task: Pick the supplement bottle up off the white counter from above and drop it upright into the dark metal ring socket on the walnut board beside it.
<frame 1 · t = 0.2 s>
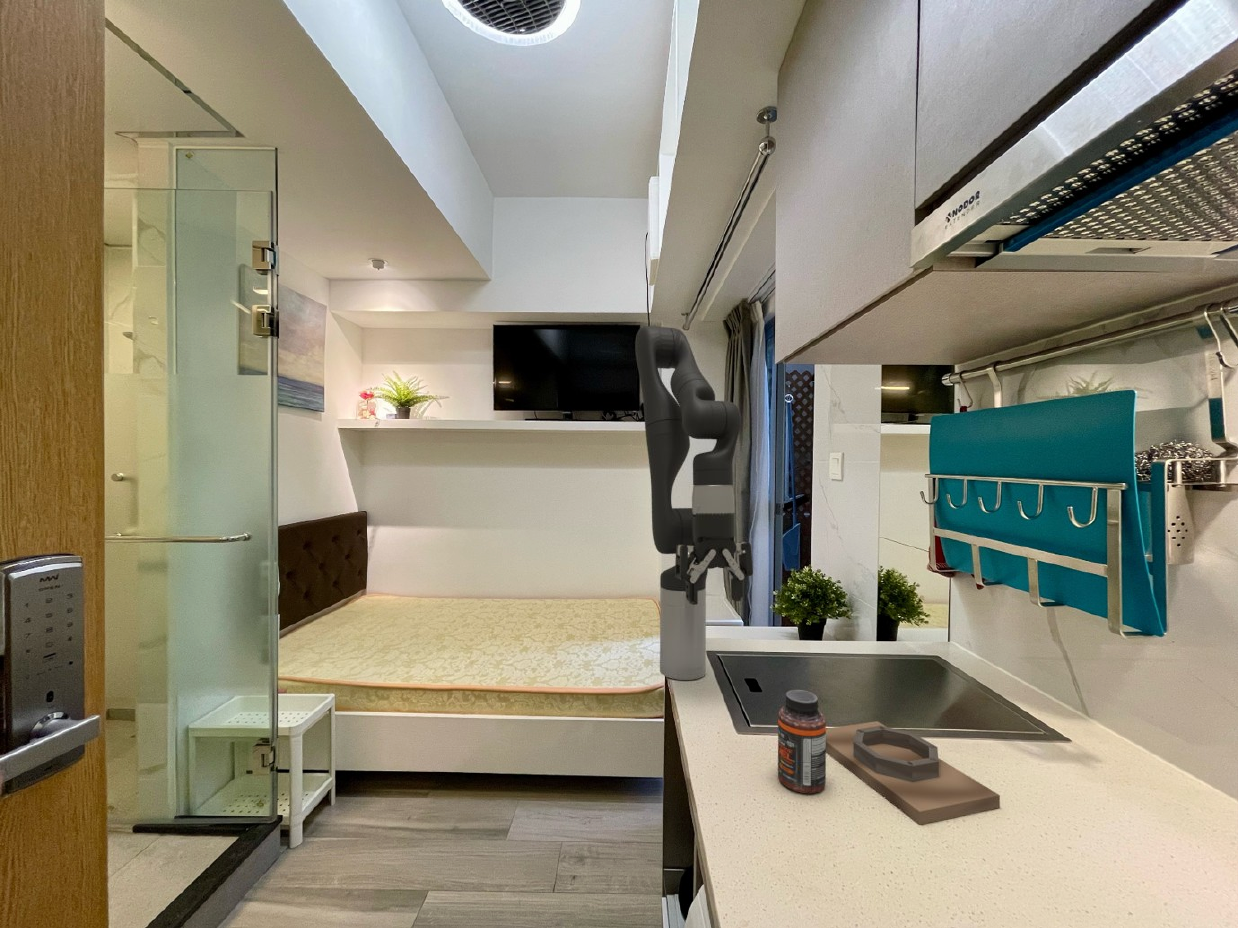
hand: (714, 602, 94), 17 cm above the table, tool pointing down, fingers open, 8 cm apart
supplement bottle: (801, 783, 69), on the table
socket board: (895, 770, 72), on the table
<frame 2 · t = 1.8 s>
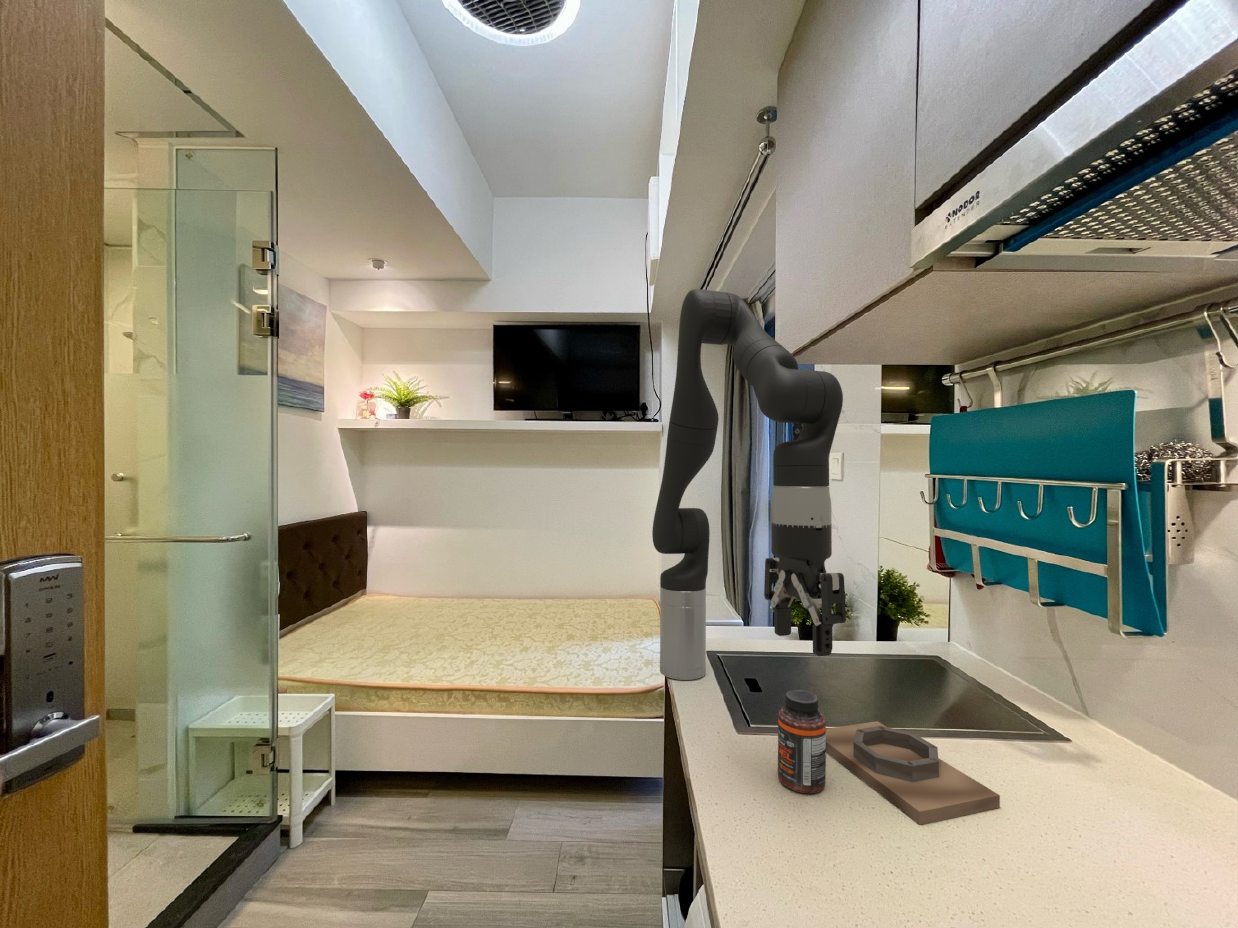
hand: (801, 644, 70), 18 cm above the table, tool pointing down, fingers open, 8 cm apart
nothing on the table moved.
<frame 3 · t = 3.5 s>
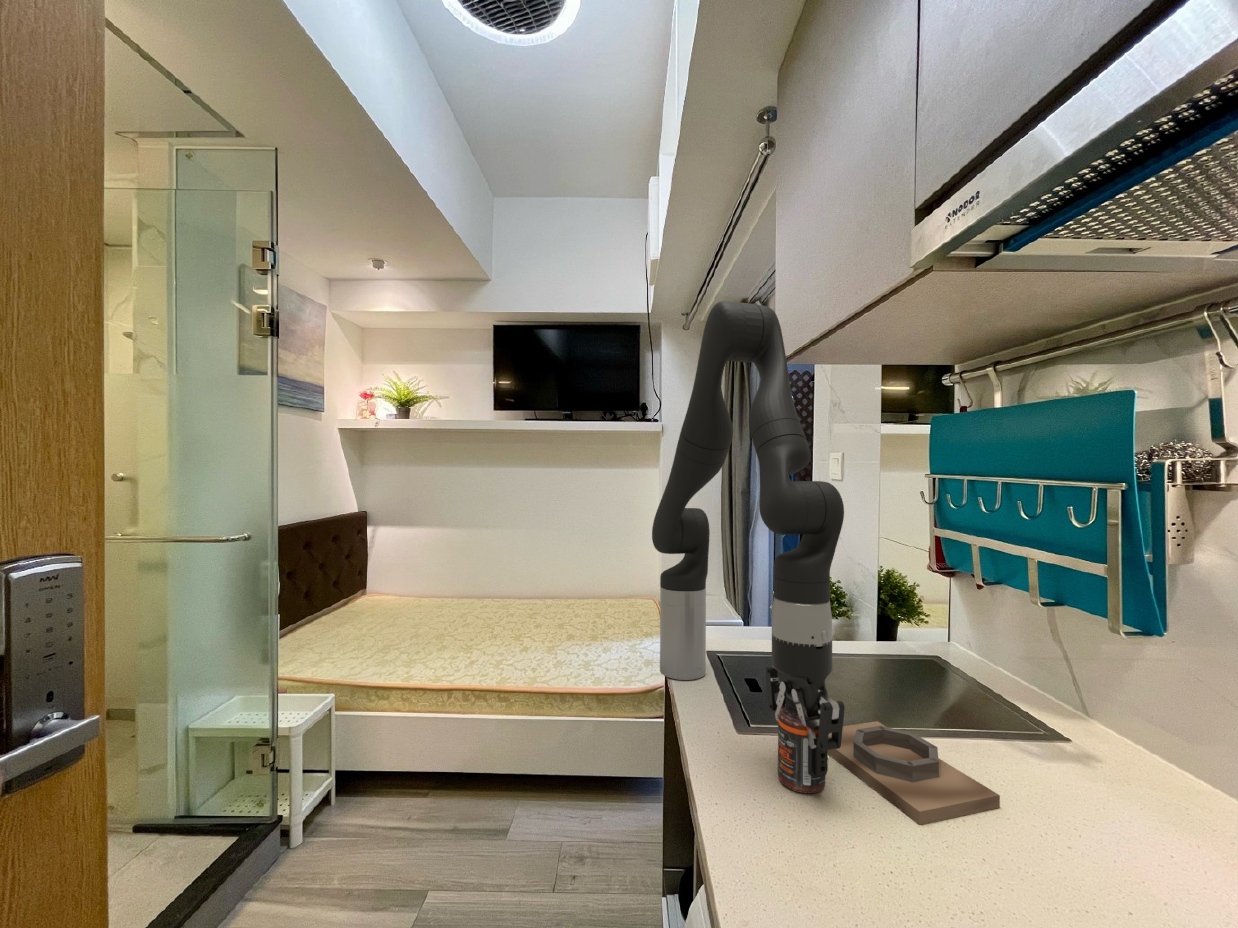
hand: (801, 761, 69), 3 cm above the table, tool pointing down, fingers closed on supplement bottle, 6 cm apart
supplement bottle: (801, 783, 69), on the table, touching gripper
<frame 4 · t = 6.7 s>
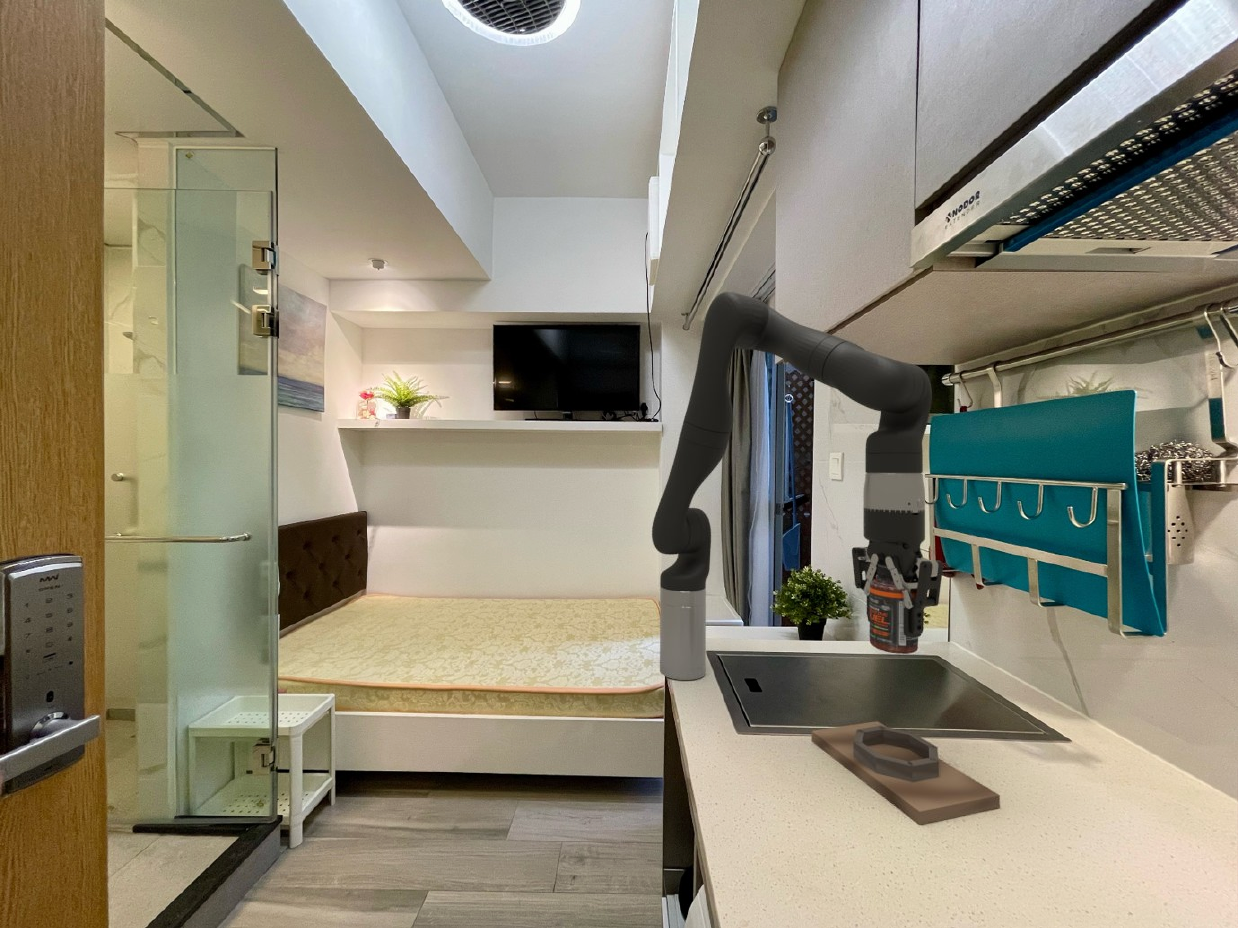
hand: (893, 628, 73), 19 cm above the table, tool pointing down, fingers closed on supplement bottle, 6 cm apart
supplement bottle: (893, 649, 73), point 16 cm above the table, touching gripper
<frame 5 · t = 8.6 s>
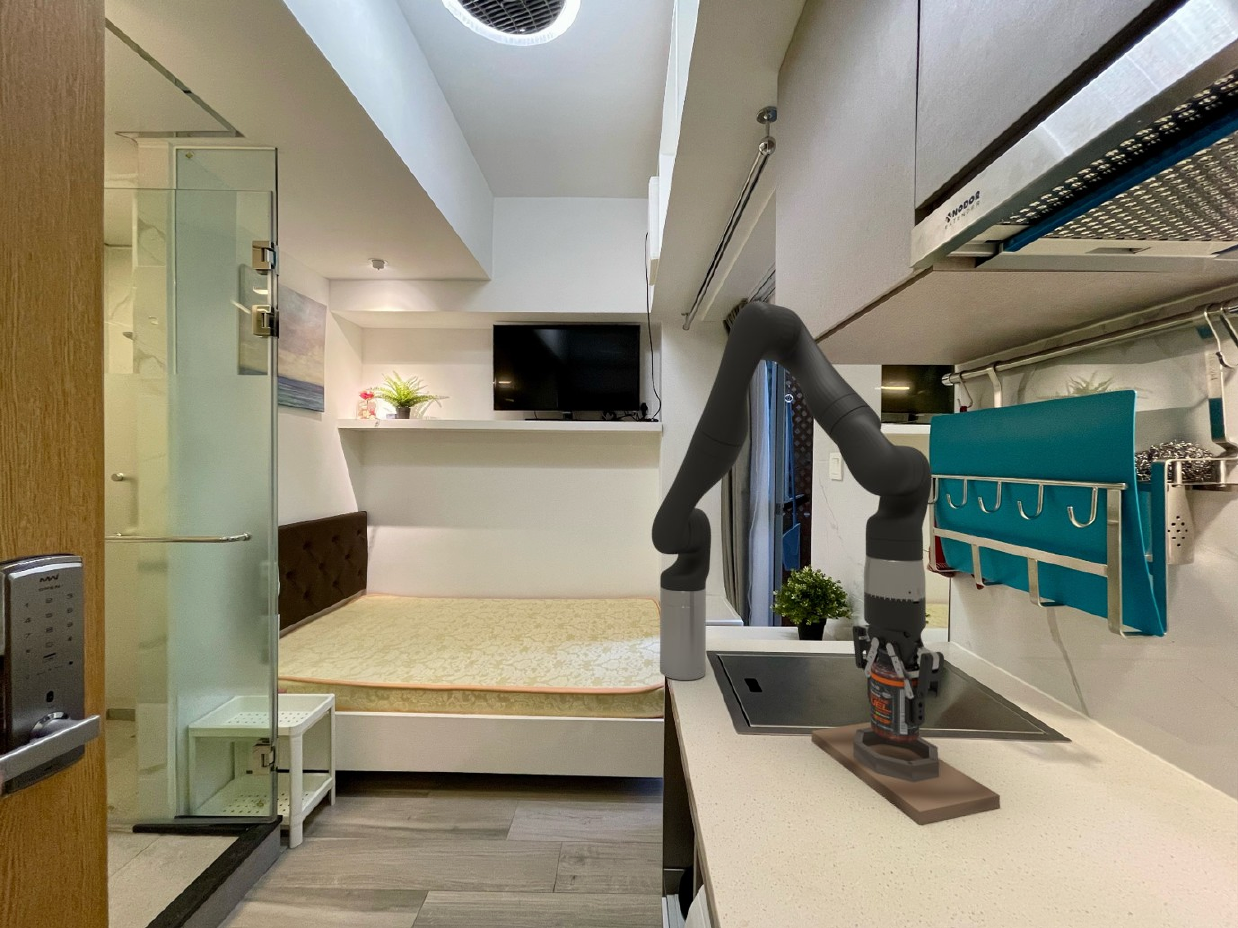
hand: (894, 713, 72), 8 cm above the table, tool pointing down, fingers closed on supplement bottle, 6 cm apart
supplement bottle: (894, 734, 72), point 5 cm above the table, touching gripper
when the fingers open (5 cm above the table, at t = 10.2 s): supplement bottle stays where it is, resting on socket board.
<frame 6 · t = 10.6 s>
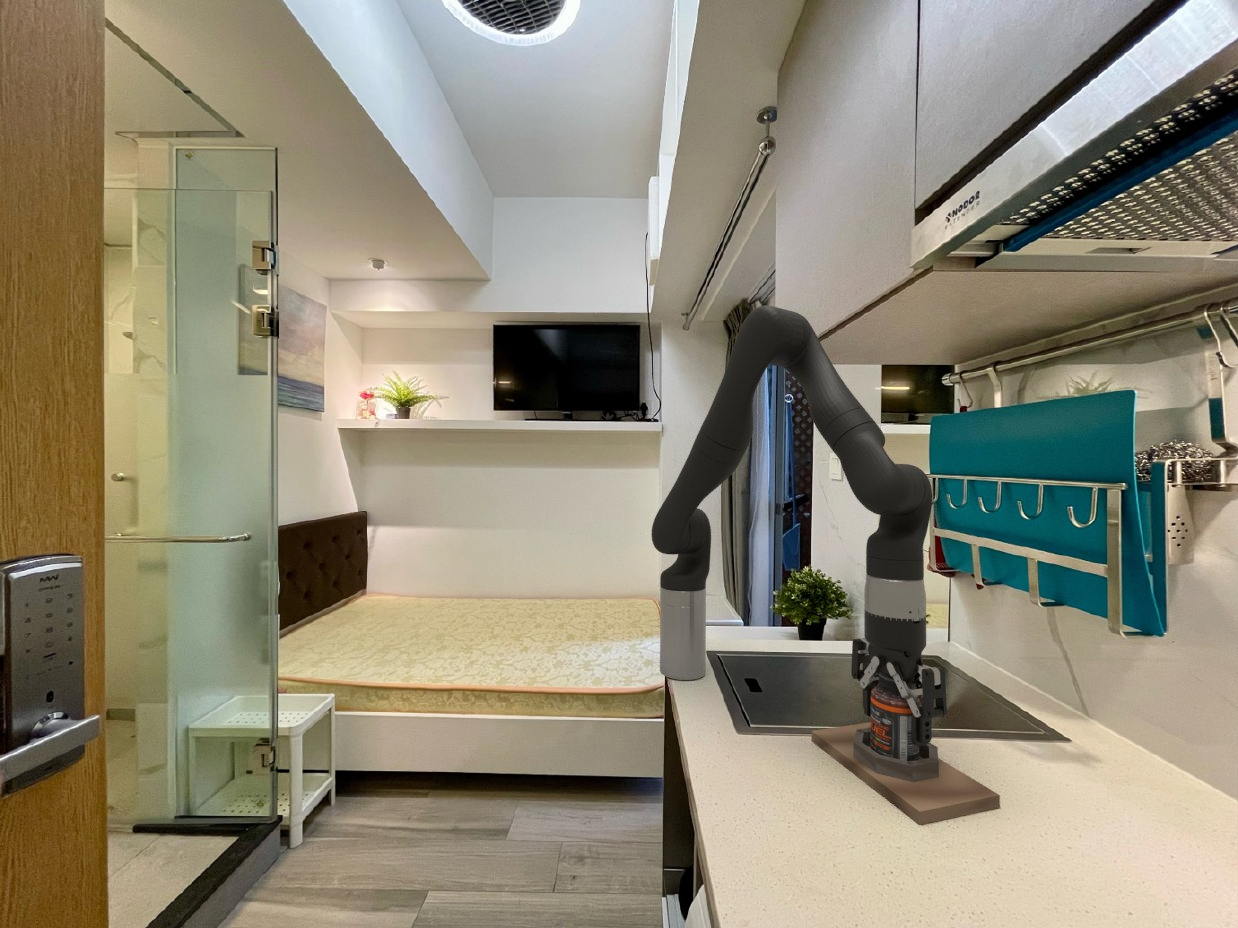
hand: (895, 728, 72), 6 cm above the table, tool pointing down, fingers open, 8 cm apart
supplement bottle: (894, 760, 72), point 1 cm above the table, touching socket board
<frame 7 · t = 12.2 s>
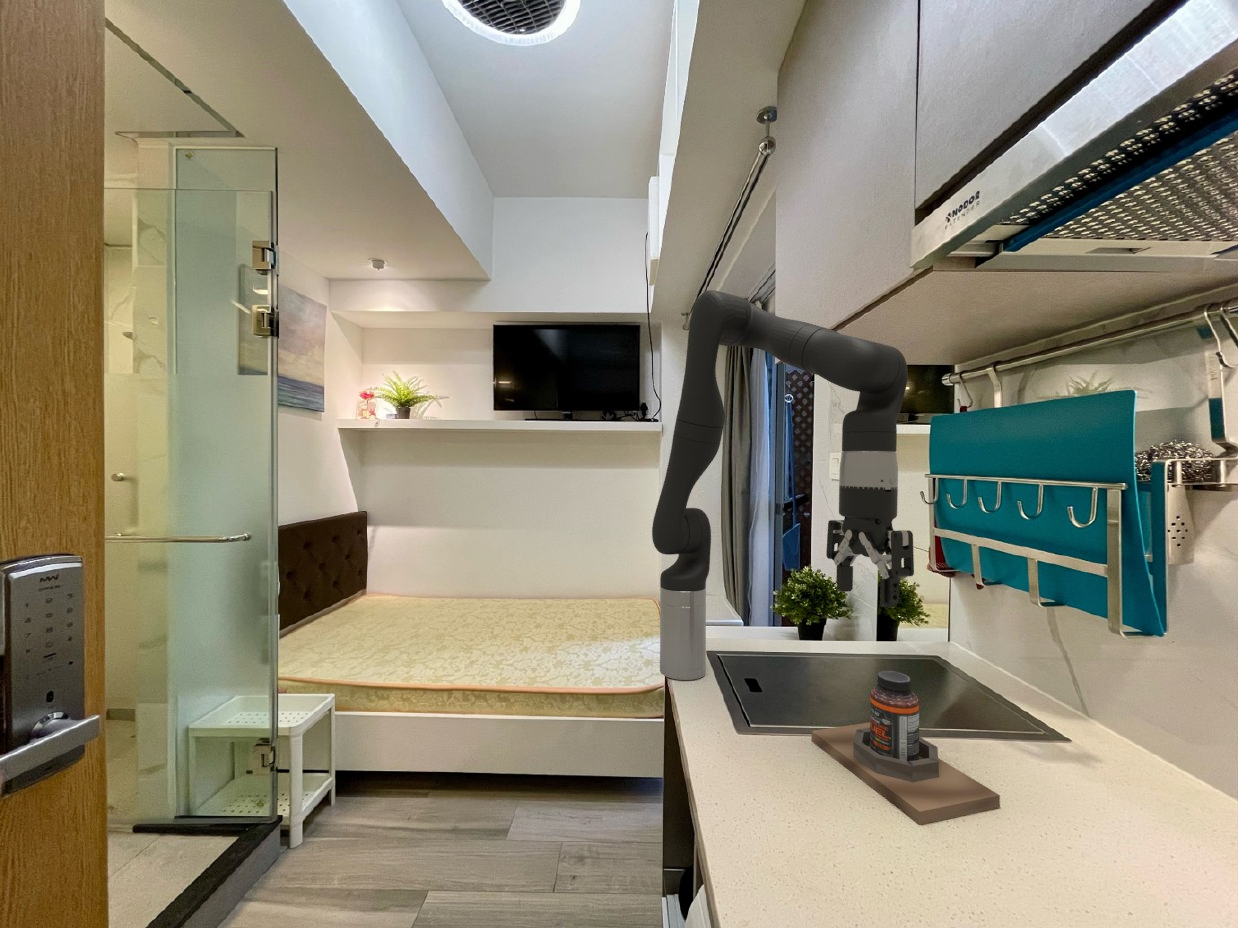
hand: (865, 598, 75), 23 cm above the table, tool pointing down, fingers open, 8 cm apart
nothing on the table moved.
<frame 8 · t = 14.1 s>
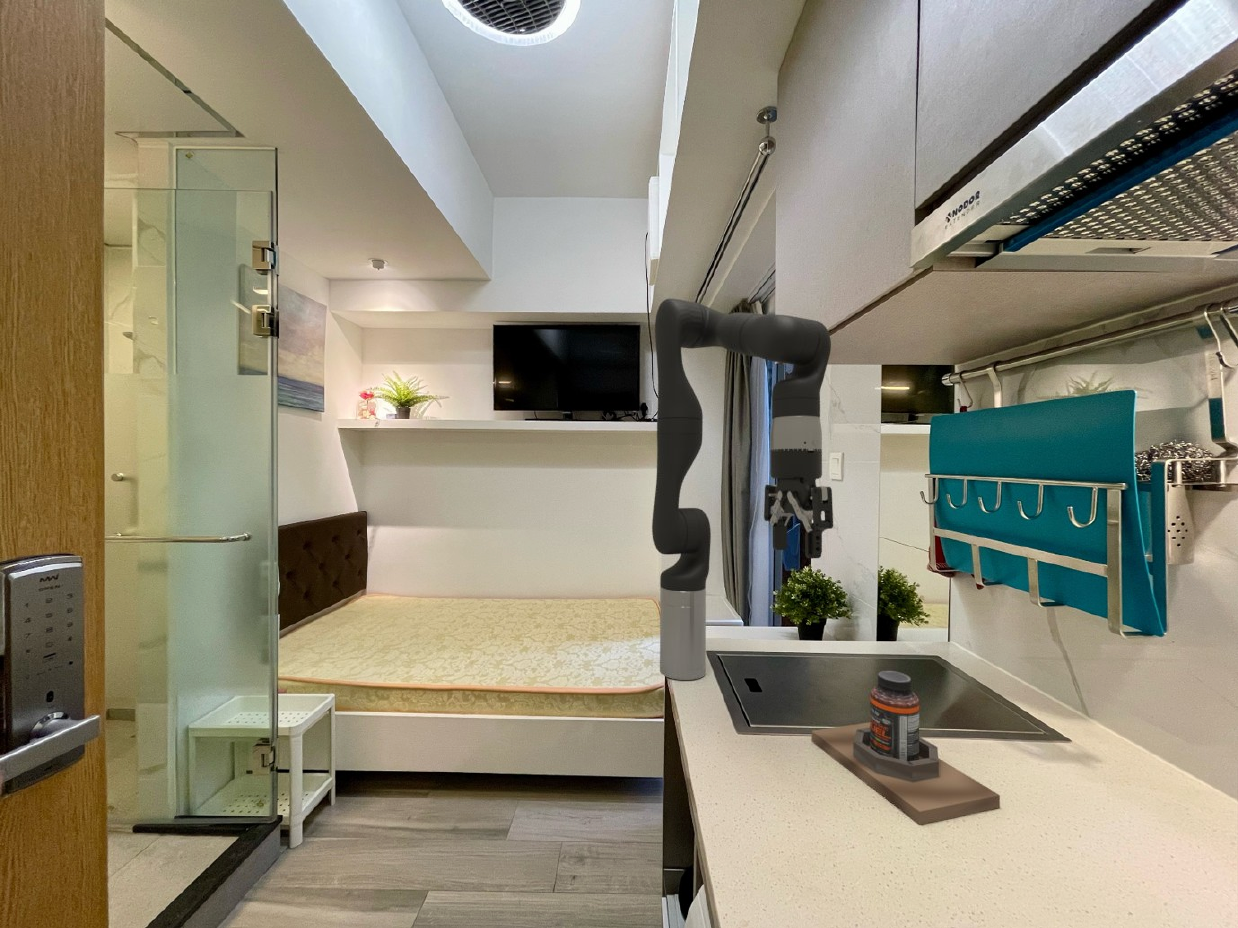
hand: (795, 553, 81), 28 cm above the table, tool pointing down, fingers open, 8 cm apart
nothing on the table moved.
at the end: supplement bottle 0.1 cm from the target spot, point 1.3 cm above the table; supplement bottle tilted 0°; the gripper is holding nothing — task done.
